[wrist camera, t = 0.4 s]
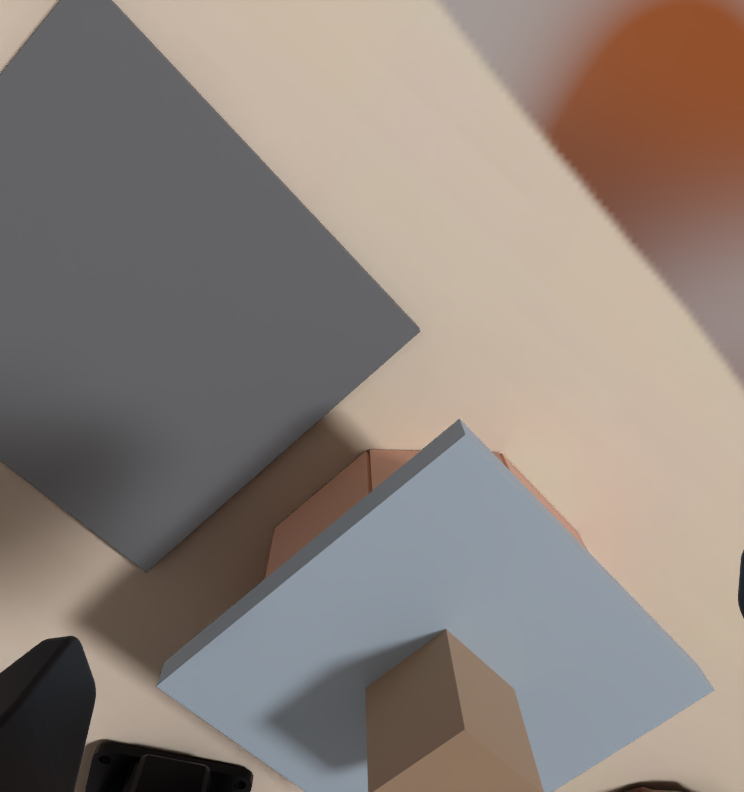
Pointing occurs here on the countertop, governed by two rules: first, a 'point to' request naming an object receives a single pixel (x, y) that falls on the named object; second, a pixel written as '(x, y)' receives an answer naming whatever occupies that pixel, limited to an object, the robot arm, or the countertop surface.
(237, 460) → the mat
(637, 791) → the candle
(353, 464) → the dish
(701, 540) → the countertop surface
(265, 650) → the lid
